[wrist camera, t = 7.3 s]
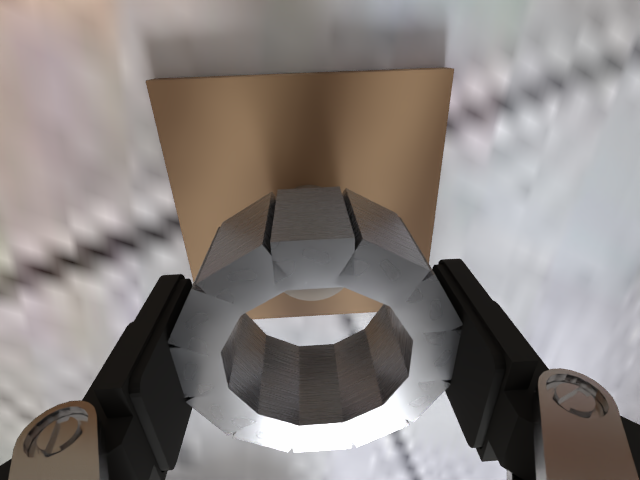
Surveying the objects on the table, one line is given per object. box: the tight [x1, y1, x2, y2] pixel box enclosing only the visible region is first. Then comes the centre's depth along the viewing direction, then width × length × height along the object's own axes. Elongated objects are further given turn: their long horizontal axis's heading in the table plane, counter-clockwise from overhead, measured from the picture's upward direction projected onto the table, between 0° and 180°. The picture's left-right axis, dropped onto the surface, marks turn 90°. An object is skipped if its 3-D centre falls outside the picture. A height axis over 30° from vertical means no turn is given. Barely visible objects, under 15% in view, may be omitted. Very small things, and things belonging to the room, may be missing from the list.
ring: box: [168, 187, 463, 453], centre depth 10 cm, size 7×7×3 cm
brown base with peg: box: [146, 68, 454, 319], centre depth 15 cm, size 12×12×6 cm
